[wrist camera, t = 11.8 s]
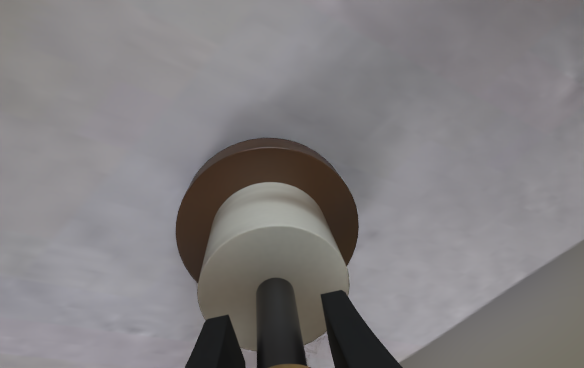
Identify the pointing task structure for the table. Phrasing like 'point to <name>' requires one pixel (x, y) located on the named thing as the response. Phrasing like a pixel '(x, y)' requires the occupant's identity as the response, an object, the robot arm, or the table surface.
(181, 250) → the joystick
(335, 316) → the robot arm
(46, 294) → the table surface
